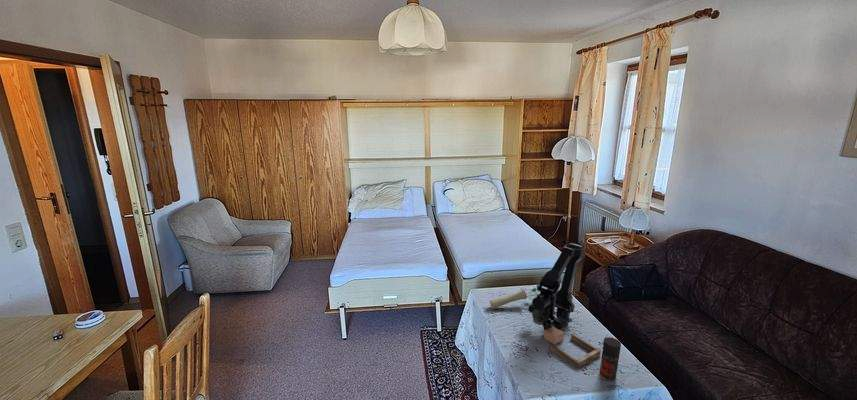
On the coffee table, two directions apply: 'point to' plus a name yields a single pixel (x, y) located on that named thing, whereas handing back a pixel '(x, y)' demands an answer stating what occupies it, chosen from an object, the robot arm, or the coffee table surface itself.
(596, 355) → the bay
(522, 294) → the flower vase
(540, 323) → the pad
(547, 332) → the terracotta block
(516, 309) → the coffee table surface
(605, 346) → the deodorant
